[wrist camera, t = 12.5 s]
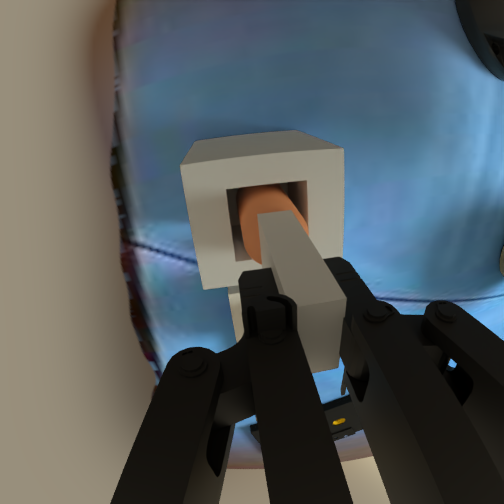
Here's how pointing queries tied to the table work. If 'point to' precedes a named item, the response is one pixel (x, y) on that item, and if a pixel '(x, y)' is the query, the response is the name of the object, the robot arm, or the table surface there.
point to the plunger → (259, 202)
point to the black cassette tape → (334, 419)
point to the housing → (252, 174)
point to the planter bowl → (502, 262)
